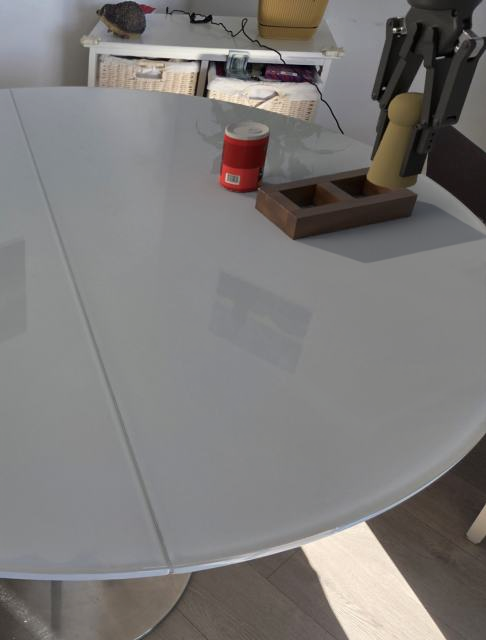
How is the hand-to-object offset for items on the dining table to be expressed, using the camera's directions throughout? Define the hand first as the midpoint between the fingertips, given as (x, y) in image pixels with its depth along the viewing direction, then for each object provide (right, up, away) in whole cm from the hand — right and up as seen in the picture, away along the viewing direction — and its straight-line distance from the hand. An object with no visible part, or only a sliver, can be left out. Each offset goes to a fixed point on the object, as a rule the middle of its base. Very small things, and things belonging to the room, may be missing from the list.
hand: (395, 166), depth 84 cm
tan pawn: (0, -2, +1) cm, 2 cm away
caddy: (+5, 0, +29) cm, 29 cm away
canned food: (-7, +7, +40) cm, 41 cm away
